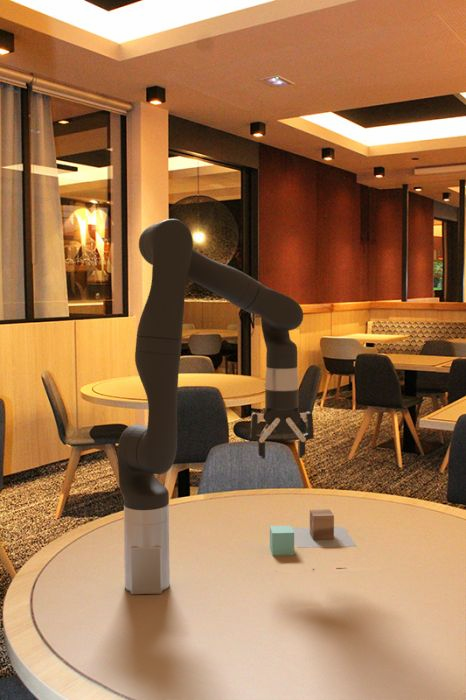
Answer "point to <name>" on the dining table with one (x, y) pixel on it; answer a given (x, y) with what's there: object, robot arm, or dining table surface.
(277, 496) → the dining table surface
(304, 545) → the plate
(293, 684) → the dining table surface
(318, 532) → the walnut brick
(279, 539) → the teal brick
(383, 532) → the dining table surface
